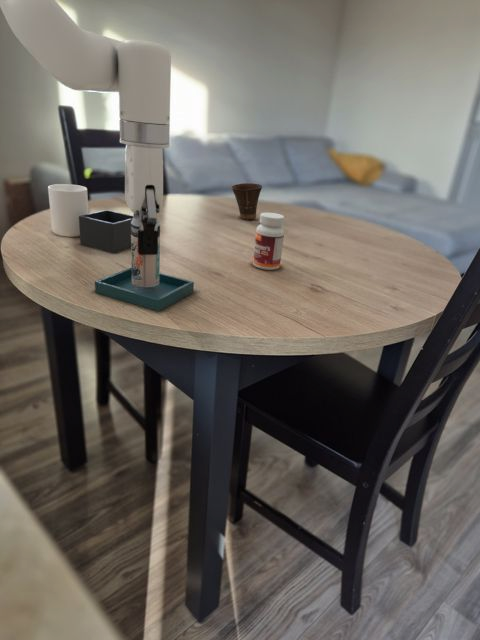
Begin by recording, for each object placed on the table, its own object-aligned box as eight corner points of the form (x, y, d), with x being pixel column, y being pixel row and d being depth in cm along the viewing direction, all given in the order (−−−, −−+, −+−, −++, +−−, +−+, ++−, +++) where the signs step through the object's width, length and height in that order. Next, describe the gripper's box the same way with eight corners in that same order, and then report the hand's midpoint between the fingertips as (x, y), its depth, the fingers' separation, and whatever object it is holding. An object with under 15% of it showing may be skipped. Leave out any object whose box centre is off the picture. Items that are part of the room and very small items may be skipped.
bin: (80, 244, 107) (78, 215, 104) (108, 236, 114) (107, 209, 112) (113, 253, 104) (112, 224, 101) (140, 244, 112) (139, 217, 109)
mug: (45, 224, 117) (40, 180, 113) (80, 223, 122) (77, 181, 117) (56, 238, 109) (52, 191, 104) (94, 236, 113) (91, 191, 108)
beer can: (128, 281, 87) (127, 214, 81) (154, 279, 89) (154, 214, 83) (136, 291, 83) (135, 221, 78) (162, 288, 85) (164, 221, 80)
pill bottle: (247, 265, 107) (252, 213, 101) (262, 259, 111) (267, 210, 106) (270, 272, 104) (276, 220, 99) (284, 266, 109) (291, 216, 103)
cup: (223, 215, 147) (226, 181, 142) (246, 214, 152) (249, 181, 148) (241, 222, 141) (244, 187, 136) (264, 220, 147) (268, 186, 142)
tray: (95, 292, 84) (94, 281, 83) (135, 275, 93) (134, 265, 92) (158, 311, 80) (158, 300, 79) (193, 291, 89) (194, 281, 88)
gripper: (113, 127, 80) (117, 235, 88) (127, 139, 66) (129, 265, 75) (159, 131, 83) (158, 235, 91) (180, 143, 69) (177, 265, 78)
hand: (145, 248), depth 83 cm, fingers closed on beer can, 4 cm apart
